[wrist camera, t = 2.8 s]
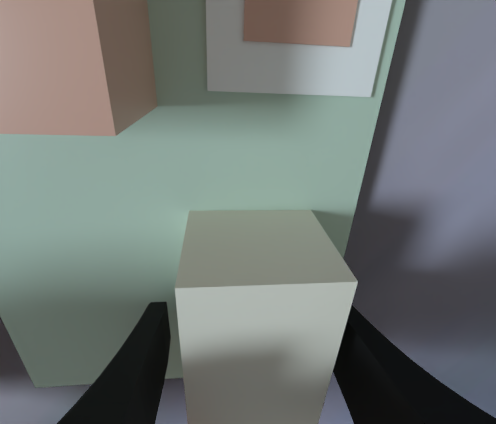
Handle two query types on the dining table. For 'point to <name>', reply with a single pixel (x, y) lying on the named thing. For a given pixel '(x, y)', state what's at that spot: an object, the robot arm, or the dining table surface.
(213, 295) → the cream brick
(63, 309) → the baseplate
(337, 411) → the dining table surface
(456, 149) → the dining table surface
